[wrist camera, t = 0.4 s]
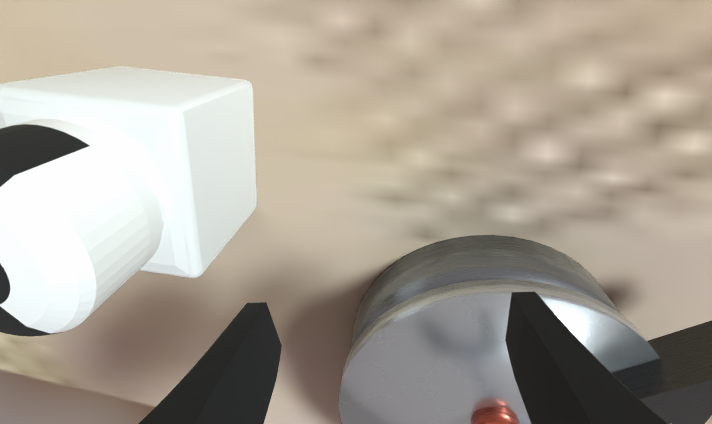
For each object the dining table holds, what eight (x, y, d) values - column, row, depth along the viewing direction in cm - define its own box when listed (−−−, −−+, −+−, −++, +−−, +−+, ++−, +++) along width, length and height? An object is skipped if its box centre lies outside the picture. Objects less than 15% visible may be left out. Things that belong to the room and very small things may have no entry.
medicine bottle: (142, 192, 22) (-99, 346, 12) (117, 64, 19) (-247, 116, 8) (259, 208, 22) (119, 383, 11) (254, 79, 19) (52, 154, 8)
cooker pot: (344, 401, 29) (335, 455, 25) (368, 216, 21) (361, 255, 18) (622, 450, 27) (655, 513, 24) (750, 271, 20) (824, 324, 16)
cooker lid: (430, 508, 26) (433, 557, 24) (283, 353, 21) (268, 396, 18) (834, 421, 18) (898, 480, 16) (759, 144, 13) (837, 171, 11)
